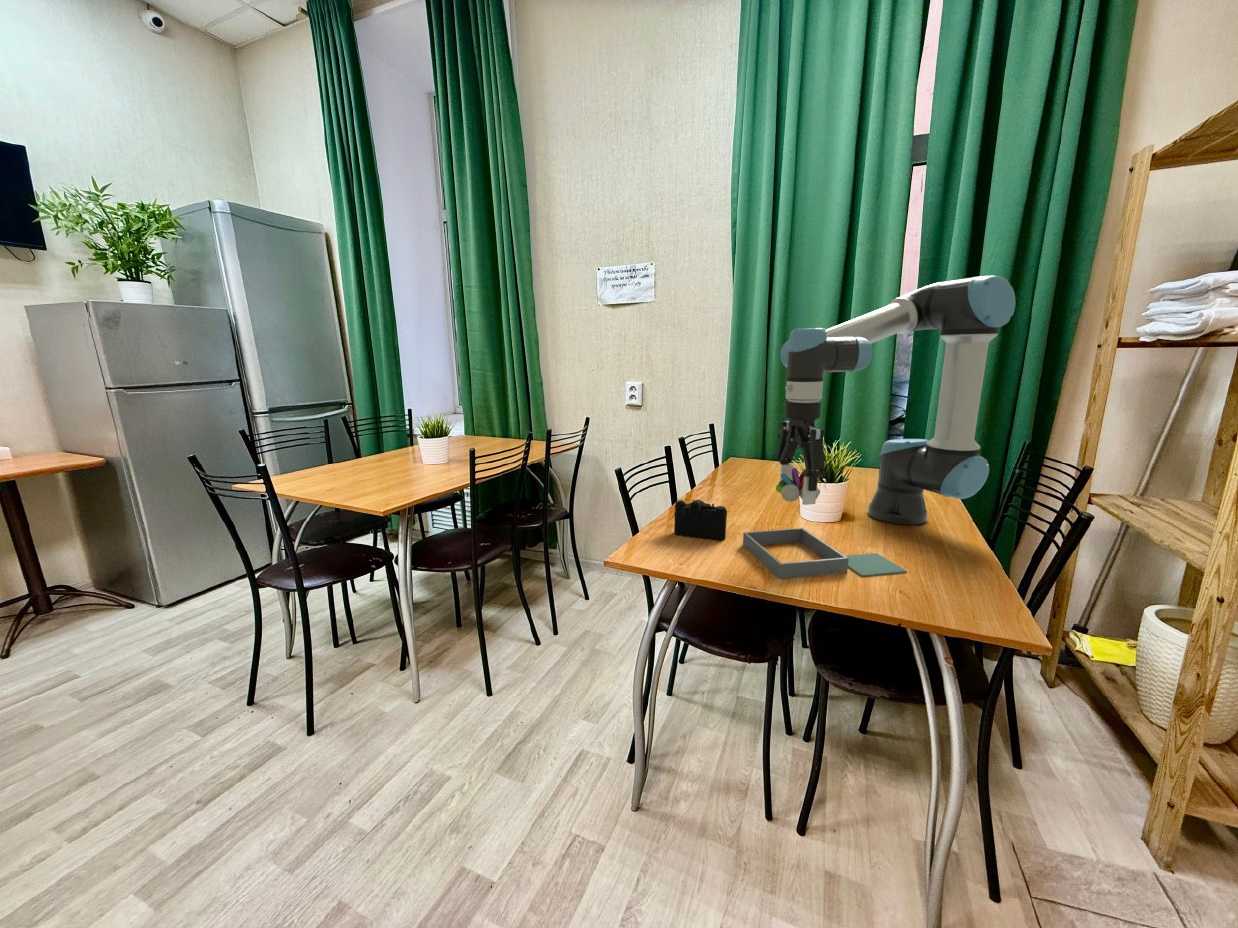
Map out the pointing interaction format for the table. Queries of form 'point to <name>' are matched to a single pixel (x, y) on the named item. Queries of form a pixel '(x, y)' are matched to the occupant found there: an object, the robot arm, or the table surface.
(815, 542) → the bin
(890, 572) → the mat
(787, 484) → the rainbow petal fan figurine
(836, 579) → the table surface
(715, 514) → the camera
